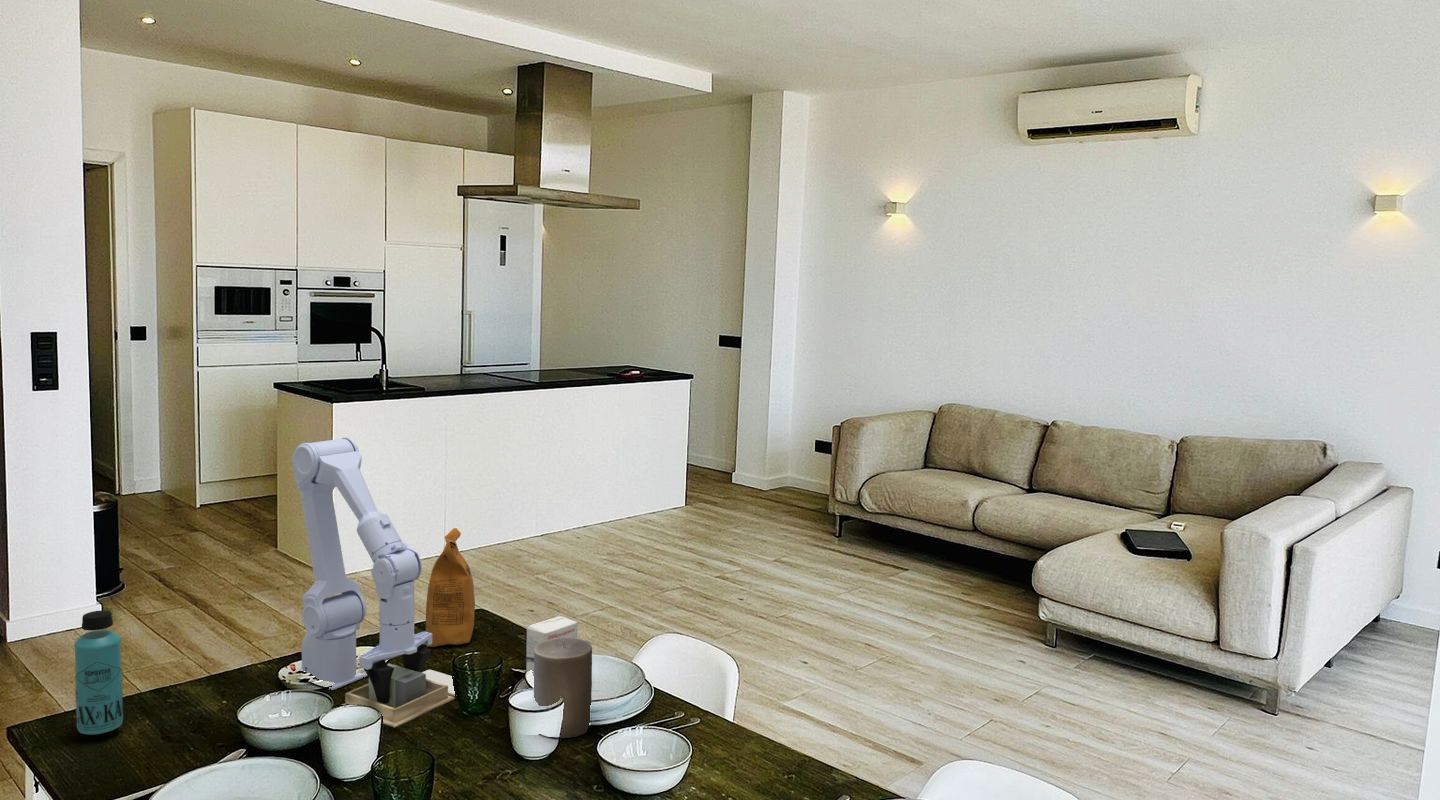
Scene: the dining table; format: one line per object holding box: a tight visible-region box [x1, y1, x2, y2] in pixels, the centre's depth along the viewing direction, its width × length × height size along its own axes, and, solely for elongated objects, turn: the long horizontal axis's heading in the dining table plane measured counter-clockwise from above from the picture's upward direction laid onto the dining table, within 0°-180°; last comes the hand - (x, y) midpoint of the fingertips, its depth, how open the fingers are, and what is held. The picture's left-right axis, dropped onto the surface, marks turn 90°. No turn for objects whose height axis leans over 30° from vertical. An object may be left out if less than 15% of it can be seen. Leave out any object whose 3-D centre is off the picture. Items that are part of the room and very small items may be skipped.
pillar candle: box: [533, 638, 593, 739], centre depth 166 cm, size 10×10×15 cm
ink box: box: [525, 615, 579, 676], centre depth 183 cm, size 9×5×12 cm, turn 143°
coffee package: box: [425, 527, 476, 648], centre depth 204 cm, size 10×12×22 cm
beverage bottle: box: [73, 610, 125, 735], centre depth 157 cm, size 6×7×20 cm
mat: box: [422, 669, 455, 697], centre depth 183 cm, size 12×6×1 cm, turn 60°
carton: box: [341, 679, 456, 728], centre depth 173 cm, size 14×14×2 cm
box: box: [368, 662, 426, 708], centre depth 173 cm, size 9×5×6 cm, turn 60°
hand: (397, 695), depth 173 cm, fingers open, 6 cm apart
